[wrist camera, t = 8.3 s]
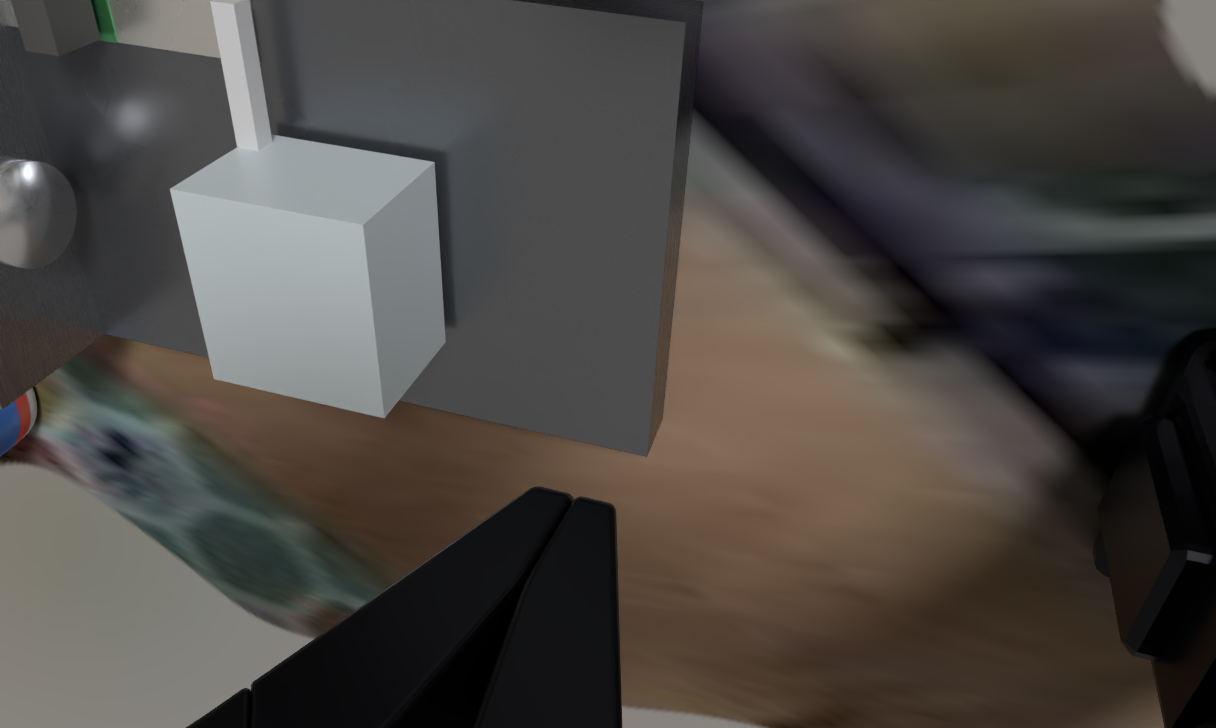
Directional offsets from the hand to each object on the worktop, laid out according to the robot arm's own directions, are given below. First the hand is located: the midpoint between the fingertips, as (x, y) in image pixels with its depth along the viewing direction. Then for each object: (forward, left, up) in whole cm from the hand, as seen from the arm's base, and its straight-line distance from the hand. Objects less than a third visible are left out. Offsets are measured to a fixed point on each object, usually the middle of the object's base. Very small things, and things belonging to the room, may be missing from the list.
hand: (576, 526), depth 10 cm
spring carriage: (+8, +2, -10) cm, 13 cm away
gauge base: (+10, +3, -12) cm, 16 cm away
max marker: (+14, -1, -10) cm, 18 cm away
